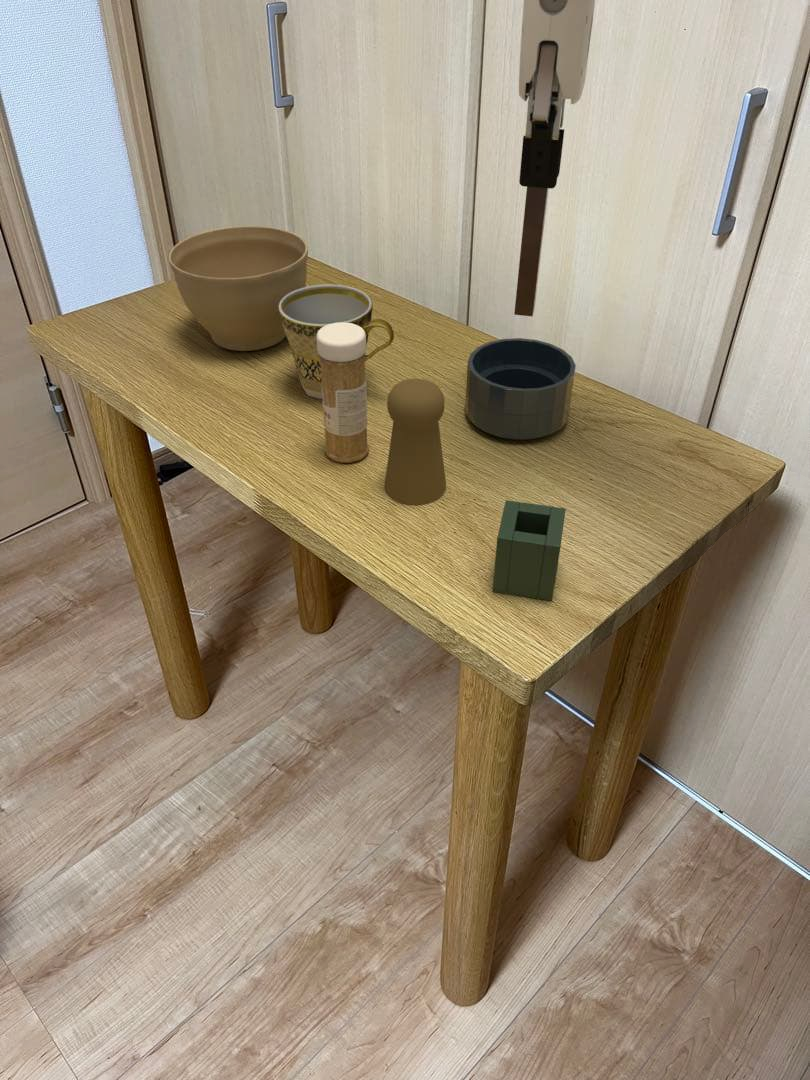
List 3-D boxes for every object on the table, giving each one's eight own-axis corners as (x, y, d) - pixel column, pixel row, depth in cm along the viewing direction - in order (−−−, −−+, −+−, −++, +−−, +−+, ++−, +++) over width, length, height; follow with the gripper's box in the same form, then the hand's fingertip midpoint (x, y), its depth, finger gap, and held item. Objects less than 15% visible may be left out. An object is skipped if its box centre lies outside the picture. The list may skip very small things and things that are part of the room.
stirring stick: (534, 308, 84) (557, 110, 72) (532, 316, 82) (555, 116, 70) (516, 306, 84) (536, 109, 72) (514, 314, 83) (534, 114, 71)
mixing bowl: (571, 396, 95) (579, 344, 91) (562, 451, 87) (570, 396, 83) (474, 385, 97) (477, 333, 93) (457, 438, 89) (459, 383, 84)
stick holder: (557, 561, 74) (565, 508, 70) (551, 601, 70) (560, 547, 66) (500, 553, 75) (505, 499, 71) (492, 591, 71) (497, 537, 67)
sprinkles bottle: (321, 443, 88) (312, 323, 79) (364, 436, 89) (360, 317, 80) (329, 468, 85) (320, 346, 76) (374, 461, 85) (370, 340, 77)
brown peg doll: (374, 476, 84) (371, 378, 76) (429, 461, 85) (431, 364, 78) (399, 511, 79) (399, 410, 72) (457, 494, 81) (462, 395, 74)
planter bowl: (324, 309, 112) (318, 226, 105) (300, 370, 100) (291, 281, 92) (205, 303, 113) (192, 221, 106) (167, 362, 101) (148, 275, 94)
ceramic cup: (270, 396, 95) (260, 313, 88) (314, 357, 102) (308, 277, 95) (374, 423, 91) (371, 338, 84) (412, 380, 98) (413, 298, 91)
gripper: (612, -61, 56) (575, 217, 69) (620, -84, 68) (587, 157, 80) (500, -64, 58) (483, 209, 70) (527, -86, 69) (508, 151, 81)
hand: (539, 179), depth 75 cm, fingers closed on stirring stick, 1 cm apart
